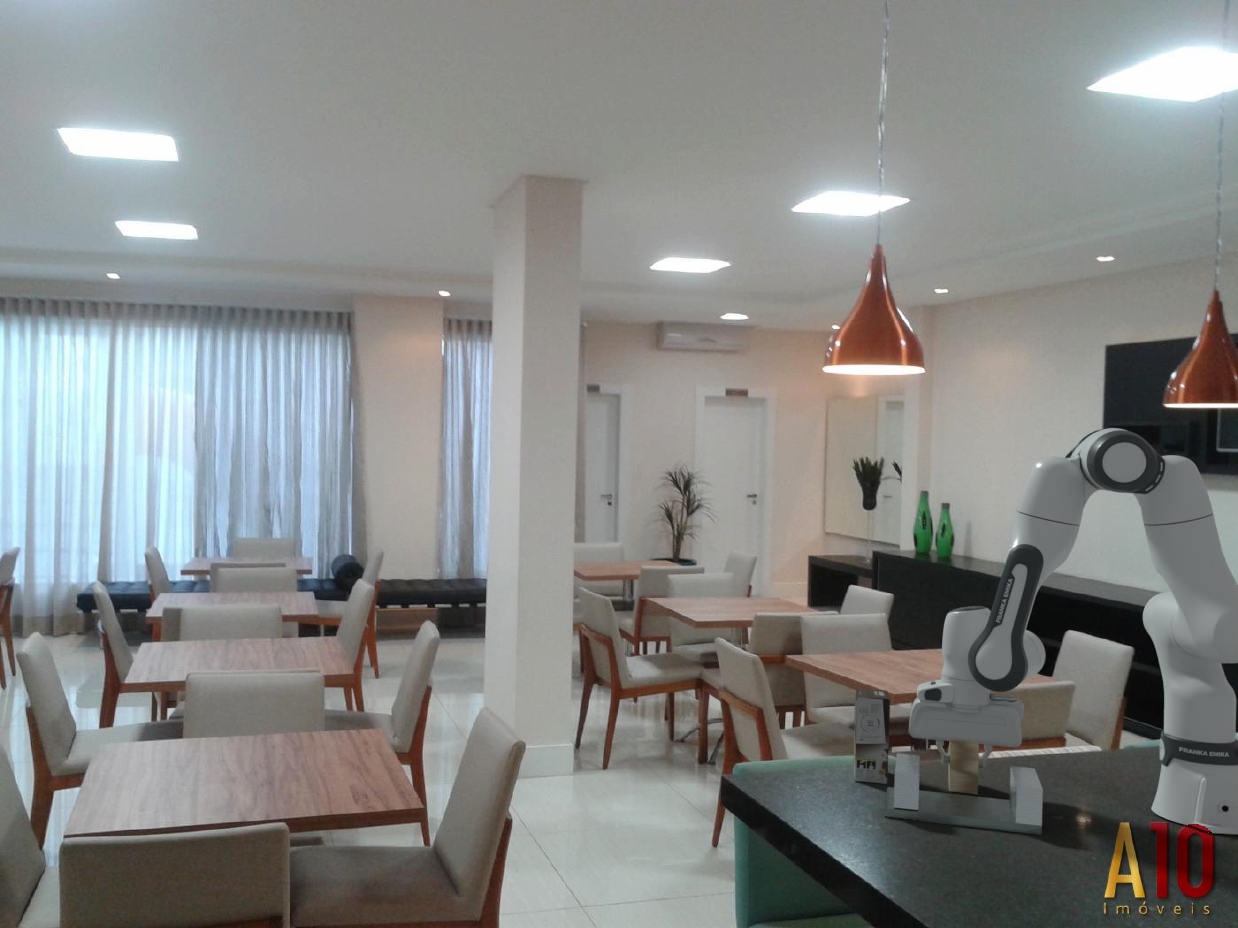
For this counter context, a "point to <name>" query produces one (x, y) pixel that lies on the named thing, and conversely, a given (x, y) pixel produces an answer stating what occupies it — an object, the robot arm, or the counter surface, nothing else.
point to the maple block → (963, 767)
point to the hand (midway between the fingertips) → (963, 765)
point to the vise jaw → (906, 781)
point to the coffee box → (871, 735)
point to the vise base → (981, 806)
